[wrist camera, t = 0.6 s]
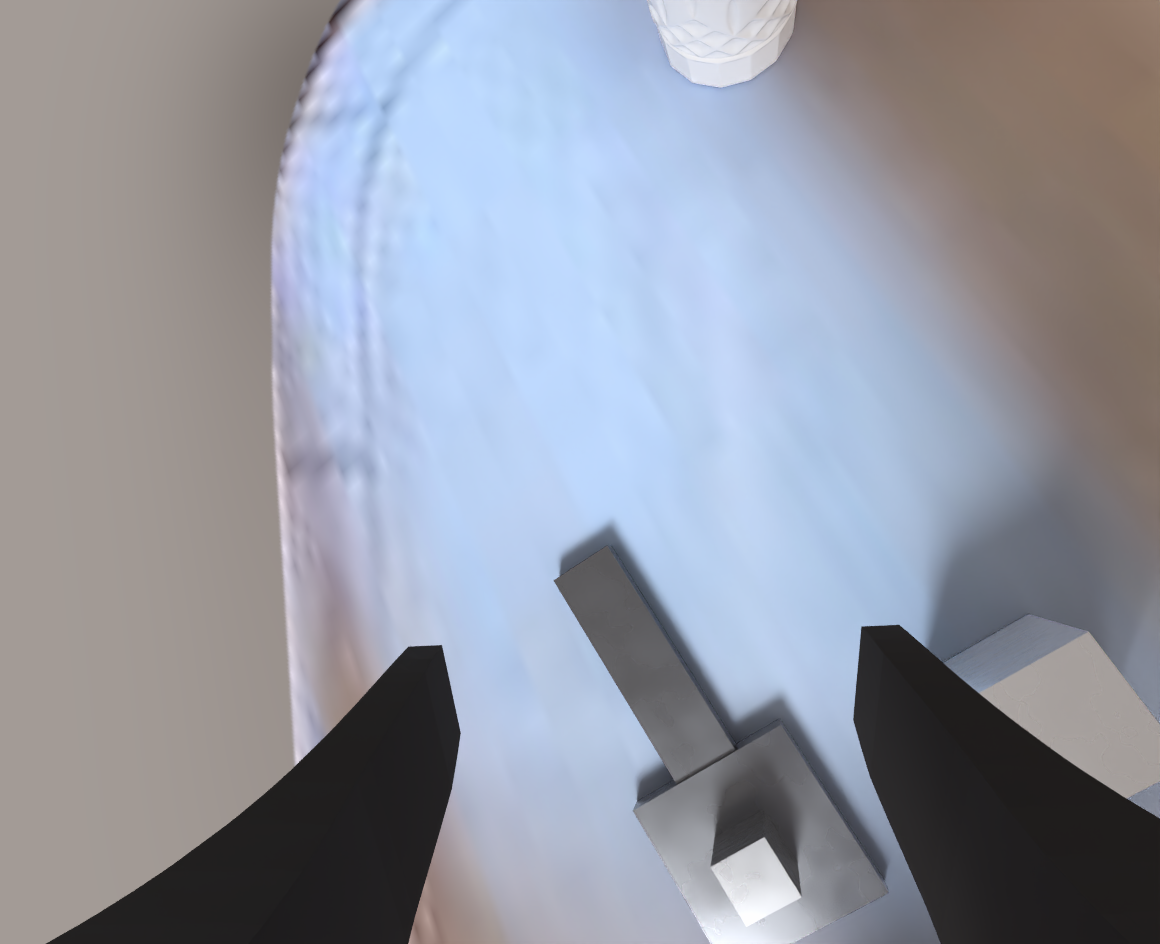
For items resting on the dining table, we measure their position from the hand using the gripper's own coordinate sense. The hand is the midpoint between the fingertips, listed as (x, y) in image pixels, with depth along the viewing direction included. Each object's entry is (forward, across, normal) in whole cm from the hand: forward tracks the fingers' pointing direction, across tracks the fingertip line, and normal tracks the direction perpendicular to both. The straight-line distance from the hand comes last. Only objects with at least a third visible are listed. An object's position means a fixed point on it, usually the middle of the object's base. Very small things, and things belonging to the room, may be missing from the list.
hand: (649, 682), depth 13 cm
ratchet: (+16, -2, +17) cm, 24 cm away
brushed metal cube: (+15, -16, +15) cm, 26 cm away
